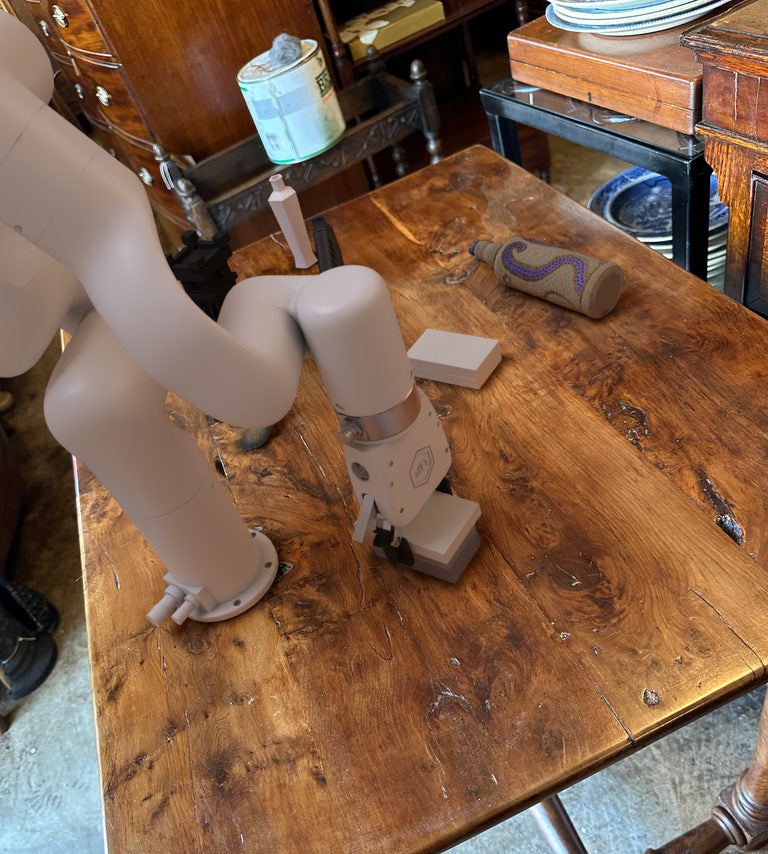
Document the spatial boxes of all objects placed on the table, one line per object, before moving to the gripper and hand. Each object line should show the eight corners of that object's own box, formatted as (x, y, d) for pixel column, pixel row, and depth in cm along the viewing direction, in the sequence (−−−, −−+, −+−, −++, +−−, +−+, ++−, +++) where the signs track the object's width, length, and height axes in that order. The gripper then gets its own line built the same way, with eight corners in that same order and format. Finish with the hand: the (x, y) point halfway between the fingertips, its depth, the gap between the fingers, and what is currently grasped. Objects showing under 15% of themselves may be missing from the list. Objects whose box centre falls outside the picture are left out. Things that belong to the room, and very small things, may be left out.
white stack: (480, 390, 100) (476, 370, 97) (407, 375, 106) (401, 356, 103) (503, 359, 102) (499, 339, 100) (431, 346, 108) (426, 327, 106)
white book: (447, 564, 77) (443, 554, 75) (358, 533, 82) (353, 523, 81) (481, 513, 80) (479, 503, 79) (393, 487, 86) (389, 476, 84)
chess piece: (213, 381, 117) (150, 262, 103) (243, 347, 121) (186, 228, 107) (255, 387, 113) (196, 264, 99) (284, 352, 117) (231, 229, 103)
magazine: (346, 329, 100) (313, 171, 114) (322, 336, 100) (291, 178, 114) (376, 403, 115) (343, 255, 129) (354, 409, 116) (324, 261, 129)
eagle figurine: (246, 395, 110) (206, 429, 104) (256, 358, 105) (215, 392, 99) (290, 425, 110) (253, 461, 104) (303, 390, 104) (264, 427, 98)
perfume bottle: (289, 263, 135) (257, 179, 124) (312, 252, 136) (282, 168, 125) (298, 273, 132) (266, 188, 121) (321, 262, 132) (291, 176, 122)
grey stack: (455, 584, 80) (446, 557, 77) (375, 555, 86) (363, 529, 83) (481, 544, 83) (474, 517, 80) (402, 518, 88) (392, 492, 85)
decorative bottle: (630, 299, 104) (628, 254, 99) (591, 330, 102) (587, 285, 97) (494, 250, 121) (486, 210, 116) (458, 276, 119) (449, 236, 114)
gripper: (356, 482, 64) (408, 607, 76) (462, 350, 72) (493, 483, 84) (287, 461, 68) (347, 583, 80) (395, 338, 76) (434, 467, 88)
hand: (422, 531), depth 82 cm, fingers open, 7 cm apart
